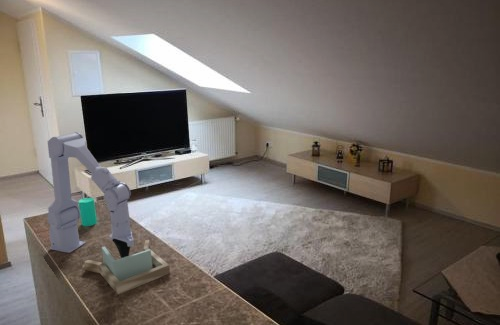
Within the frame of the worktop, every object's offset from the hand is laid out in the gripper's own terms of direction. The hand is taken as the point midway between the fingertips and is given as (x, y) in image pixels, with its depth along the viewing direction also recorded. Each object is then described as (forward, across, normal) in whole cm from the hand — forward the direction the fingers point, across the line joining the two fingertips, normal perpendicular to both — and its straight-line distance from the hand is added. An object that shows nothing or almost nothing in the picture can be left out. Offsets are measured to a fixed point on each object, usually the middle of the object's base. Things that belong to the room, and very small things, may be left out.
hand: (124, 257), depth 126 cm
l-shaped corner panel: (+3, +4, -1) cm, 4 cm away
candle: (+3, -43, +2) cm, 43 cm away
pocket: (+2, +4, 0) cm, 5 cm away
